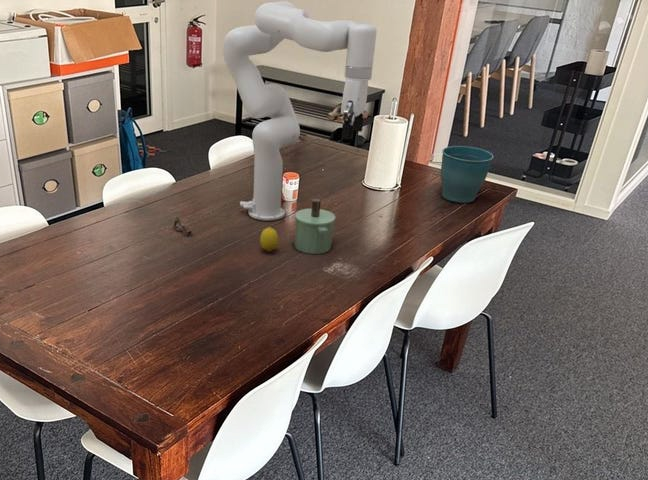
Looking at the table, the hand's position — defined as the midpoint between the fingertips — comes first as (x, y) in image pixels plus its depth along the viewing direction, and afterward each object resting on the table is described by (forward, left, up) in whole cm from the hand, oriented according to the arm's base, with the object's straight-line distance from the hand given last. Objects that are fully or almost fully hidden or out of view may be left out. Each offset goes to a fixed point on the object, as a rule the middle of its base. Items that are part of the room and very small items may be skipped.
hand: (351, 134), depth 201 cm
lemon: (-23, -10, -34) cm, 42 cm away
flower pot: (+50, +43, -34) cm, 74 cm away
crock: (-9, -5, -34) cm, 35 cm away
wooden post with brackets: (-51, +3, -34) cm, 61 cm away
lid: (-9, -5, -24) cm, 26 cm away
